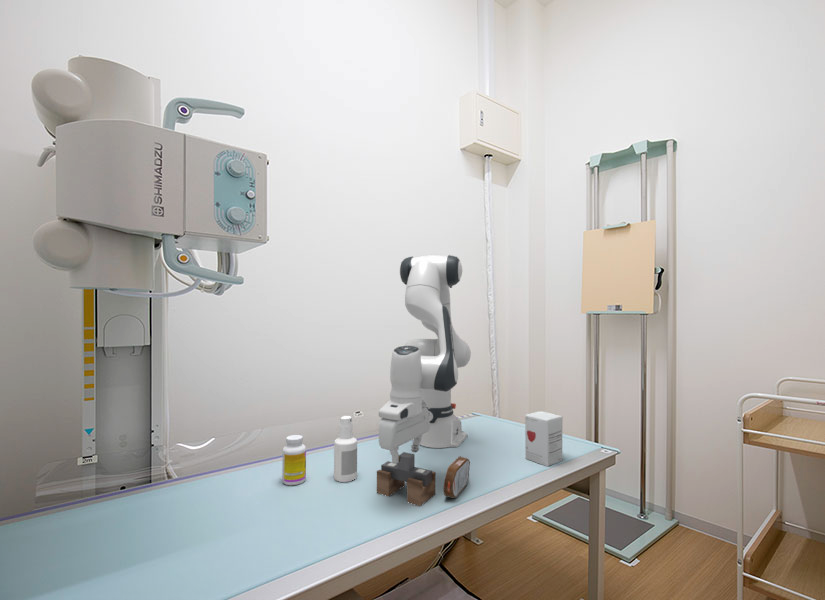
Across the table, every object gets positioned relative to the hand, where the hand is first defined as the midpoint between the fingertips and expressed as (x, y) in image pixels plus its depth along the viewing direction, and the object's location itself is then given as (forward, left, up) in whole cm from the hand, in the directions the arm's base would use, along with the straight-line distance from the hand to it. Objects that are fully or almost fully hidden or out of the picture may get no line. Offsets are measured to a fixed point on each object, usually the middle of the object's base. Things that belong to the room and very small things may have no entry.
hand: (406, 456), depth 112 cm
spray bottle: (+1, -21, -10) cm, 23 cm away
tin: (-9, +11, -10) cm, 18 cm away
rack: (0, 0, -10) cm, 10 cm away
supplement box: (-46, +25, -10) cm, 53 cm away
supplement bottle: (+11, -32, -10) cm, 35 cm away
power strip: (0, 0, -6) cm, 6 cm away
